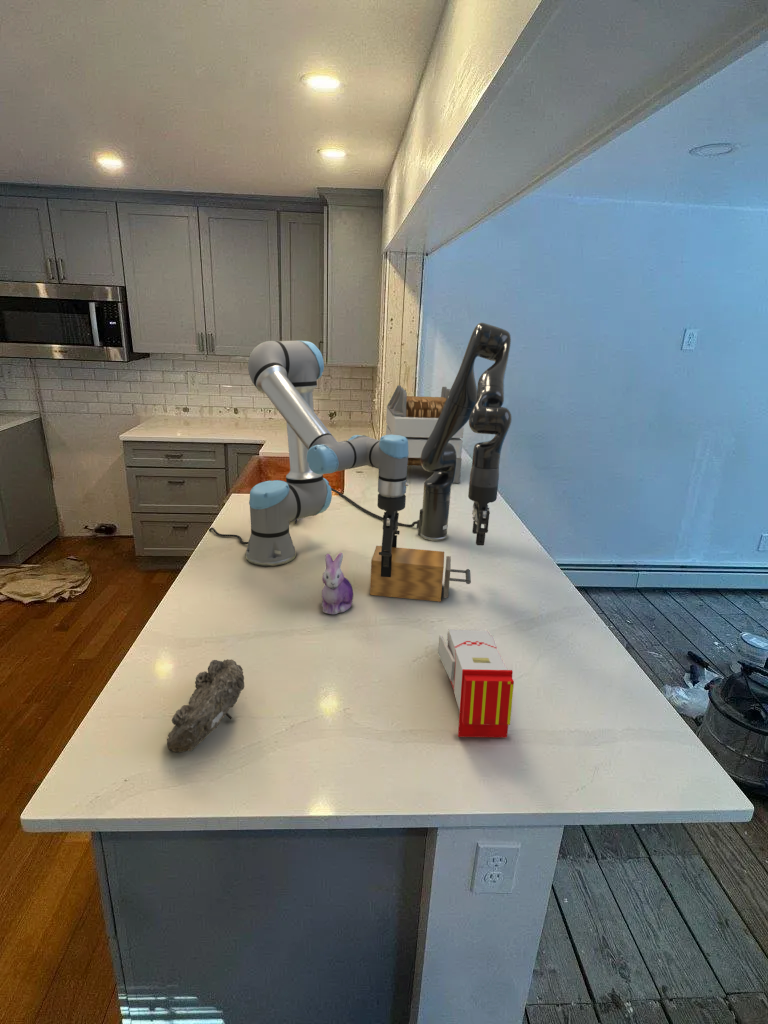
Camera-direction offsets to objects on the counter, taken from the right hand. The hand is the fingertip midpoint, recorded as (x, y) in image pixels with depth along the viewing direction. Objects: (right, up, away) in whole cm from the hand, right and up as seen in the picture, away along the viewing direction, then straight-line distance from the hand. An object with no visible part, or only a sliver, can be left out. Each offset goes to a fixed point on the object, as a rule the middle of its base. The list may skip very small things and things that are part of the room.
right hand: (478, 538), depth 155 cm
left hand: (-25, -8, +3) cm, 26 cm away
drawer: (-14, -14, +4) cm, 20 cm away
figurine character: (-59, +5, +54) cm, 80 cm away
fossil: (-59, -32, -47) cm, 82 cm away
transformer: (-9, +26, +120) cm, 123 cm away
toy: (-8, -30, -37) cm, 48 cm away
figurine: (-38, -18, -6) cm, 43 cm away
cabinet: (-19, -15, +5) cm, 25 cm away
